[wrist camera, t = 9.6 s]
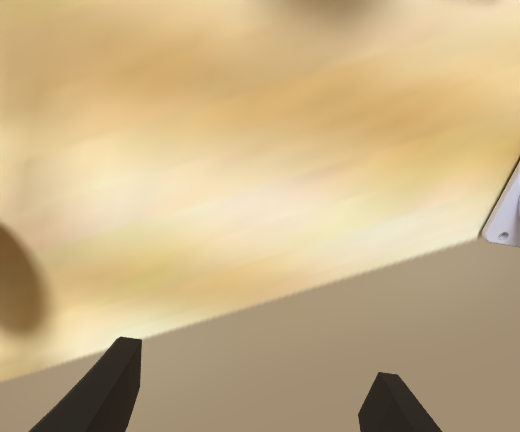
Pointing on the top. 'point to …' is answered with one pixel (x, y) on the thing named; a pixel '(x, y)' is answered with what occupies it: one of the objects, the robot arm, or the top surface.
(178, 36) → the top surface
